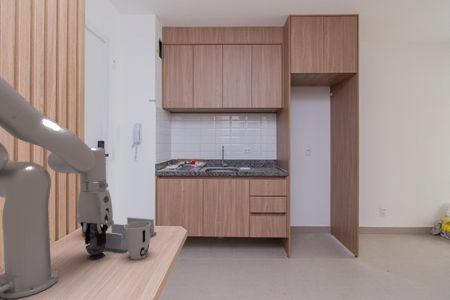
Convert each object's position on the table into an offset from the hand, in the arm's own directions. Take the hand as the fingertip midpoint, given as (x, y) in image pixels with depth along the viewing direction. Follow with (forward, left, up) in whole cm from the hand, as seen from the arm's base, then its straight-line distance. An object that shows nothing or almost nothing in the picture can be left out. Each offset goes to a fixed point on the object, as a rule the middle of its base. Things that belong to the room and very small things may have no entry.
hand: (95, 243), depth 87 cm
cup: (+4, -13, -4) cm, 14 cm away
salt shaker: (0, 0, -4) cm, 4 cm away
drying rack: (+14, 0, -4) cm, 15 cm away
